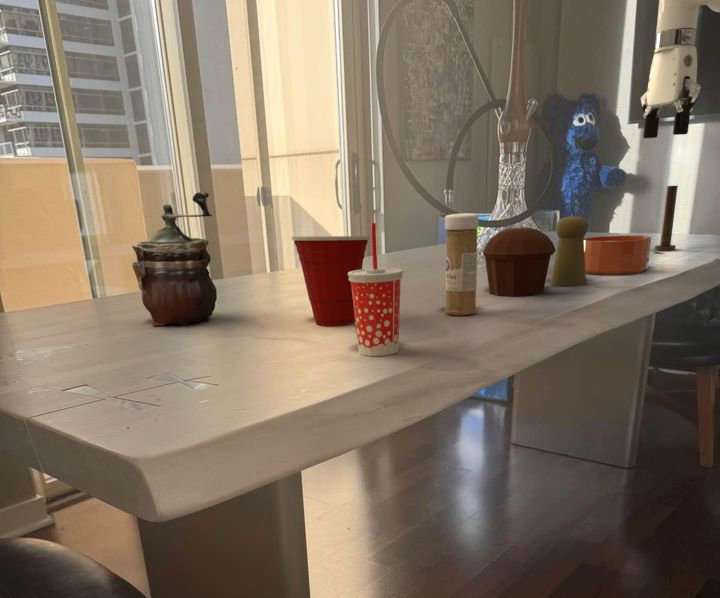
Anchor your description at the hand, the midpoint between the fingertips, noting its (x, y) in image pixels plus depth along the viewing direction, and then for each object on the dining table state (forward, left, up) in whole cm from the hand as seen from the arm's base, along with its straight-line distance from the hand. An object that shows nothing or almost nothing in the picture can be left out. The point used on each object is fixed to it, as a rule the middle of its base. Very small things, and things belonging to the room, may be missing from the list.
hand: (664, 136), depth 148 cm
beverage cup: (+66, +84, -24) cm, 109 cm away
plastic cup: (+71, +64, -24) cm, 99 cm away
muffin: (+41, +46, -24) cm, 66 cm away
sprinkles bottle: (+53, +62, -24) cm, 86 cm away
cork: (+31, +39, -24) cm, 56 cm away
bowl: (+18, +26, -24) cm, 40 cm away
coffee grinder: (+93, +57, -24) cm, 112 cm away
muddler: (-3, +1, -24) cm, 24 cm away
